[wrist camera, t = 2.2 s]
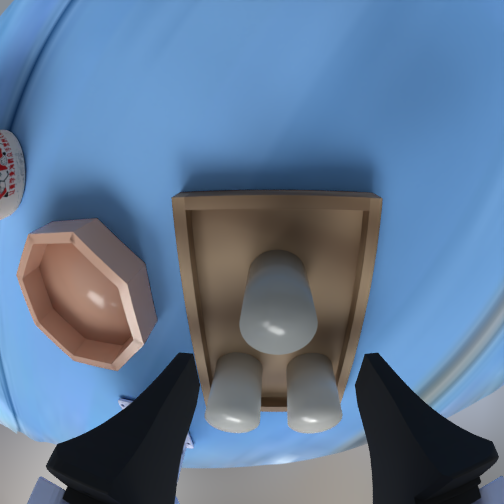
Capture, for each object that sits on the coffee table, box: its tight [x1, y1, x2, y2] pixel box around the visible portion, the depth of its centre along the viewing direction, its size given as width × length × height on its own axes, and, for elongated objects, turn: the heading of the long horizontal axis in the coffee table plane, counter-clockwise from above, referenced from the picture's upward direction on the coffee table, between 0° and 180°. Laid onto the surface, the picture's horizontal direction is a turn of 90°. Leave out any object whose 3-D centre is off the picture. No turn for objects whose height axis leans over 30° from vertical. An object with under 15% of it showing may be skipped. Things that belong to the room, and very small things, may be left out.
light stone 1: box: [205, 352, 263, 433], centre depth 20 cm, size 4×4×6 cm
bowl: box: [17, 218, 157, 371], centre depth 20 cm, size 13×13×3 cm
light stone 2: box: [286, 353, 342, 433], centre depth 20 cm, size 4×4×6 cm
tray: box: [172, 190, 383, 412], centre depth 20 cm, size 20×13×2 cm, turn 2°
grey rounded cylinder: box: [239, 250, 318, 355], centre depth 17 cm, size 4×4×6 cm
